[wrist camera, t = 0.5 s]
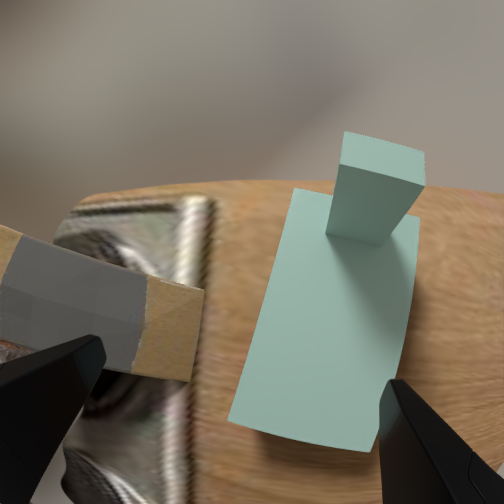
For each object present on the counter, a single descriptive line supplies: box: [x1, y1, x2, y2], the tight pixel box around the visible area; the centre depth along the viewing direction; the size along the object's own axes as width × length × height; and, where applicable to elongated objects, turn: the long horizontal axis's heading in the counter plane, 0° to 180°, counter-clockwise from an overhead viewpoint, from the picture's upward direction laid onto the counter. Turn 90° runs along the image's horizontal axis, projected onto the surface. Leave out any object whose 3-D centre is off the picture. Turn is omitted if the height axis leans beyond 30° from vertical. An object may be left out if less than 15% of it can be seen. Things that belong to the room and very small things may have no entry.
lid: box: [227, 131, 425, 452], centre depth 14 cm, size 17×10×10 cm, turn 163°
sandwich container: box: [0, 225, 204, 382], centre depth 18 cm, size 9×15×15 cm, turn 81°
